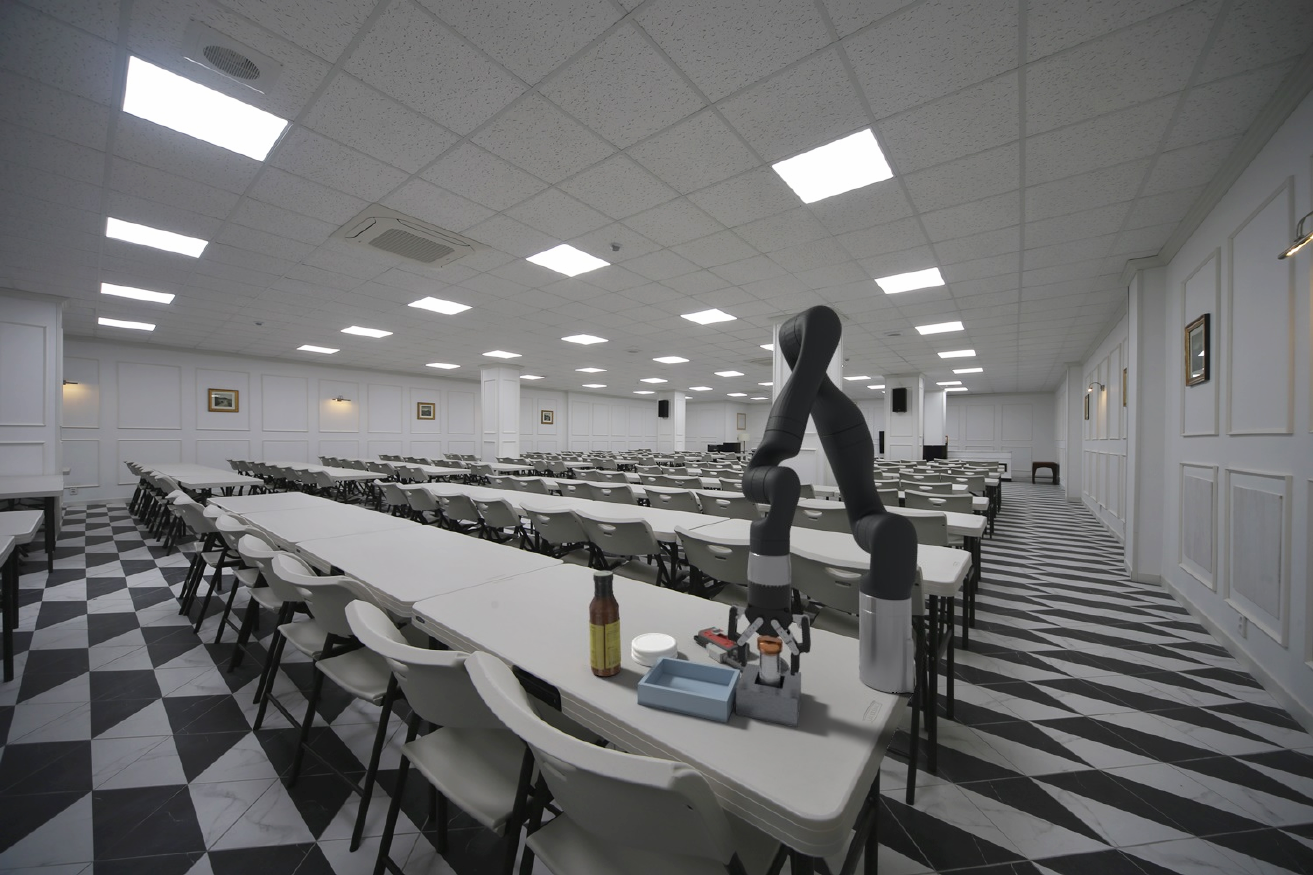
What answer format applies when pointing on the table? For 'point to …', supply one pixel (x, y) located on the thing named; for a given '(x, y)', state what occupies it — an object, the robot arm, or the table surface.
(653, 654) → the white round disc stack
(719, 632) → the walkie-talkie
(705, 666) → the tray
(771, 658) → the lock pin
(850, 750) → the table surface
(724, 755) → the table surface
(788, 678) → the block
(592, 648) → the sauce bottle
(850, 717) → the table surface
